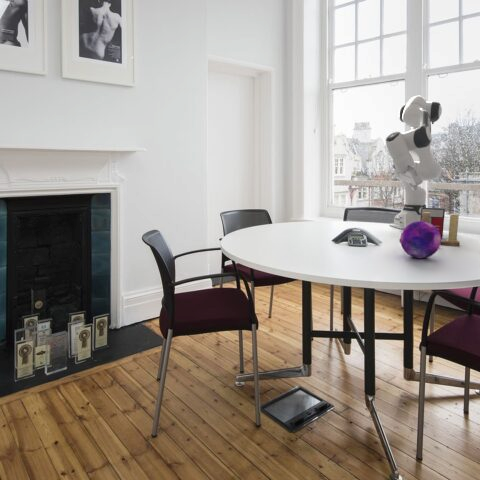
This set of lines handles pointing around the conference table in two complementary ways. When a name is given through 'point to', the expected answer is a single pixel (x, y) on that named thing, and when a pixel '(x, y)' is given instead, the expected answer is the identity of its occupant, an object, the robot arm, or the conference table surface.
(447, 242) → the rail
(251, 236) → the conference table surface
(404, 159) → the robot arm
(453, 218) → the fixed leg
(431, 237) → the decorative orb
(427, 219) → the sliding leg
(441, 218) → the red and grey box
